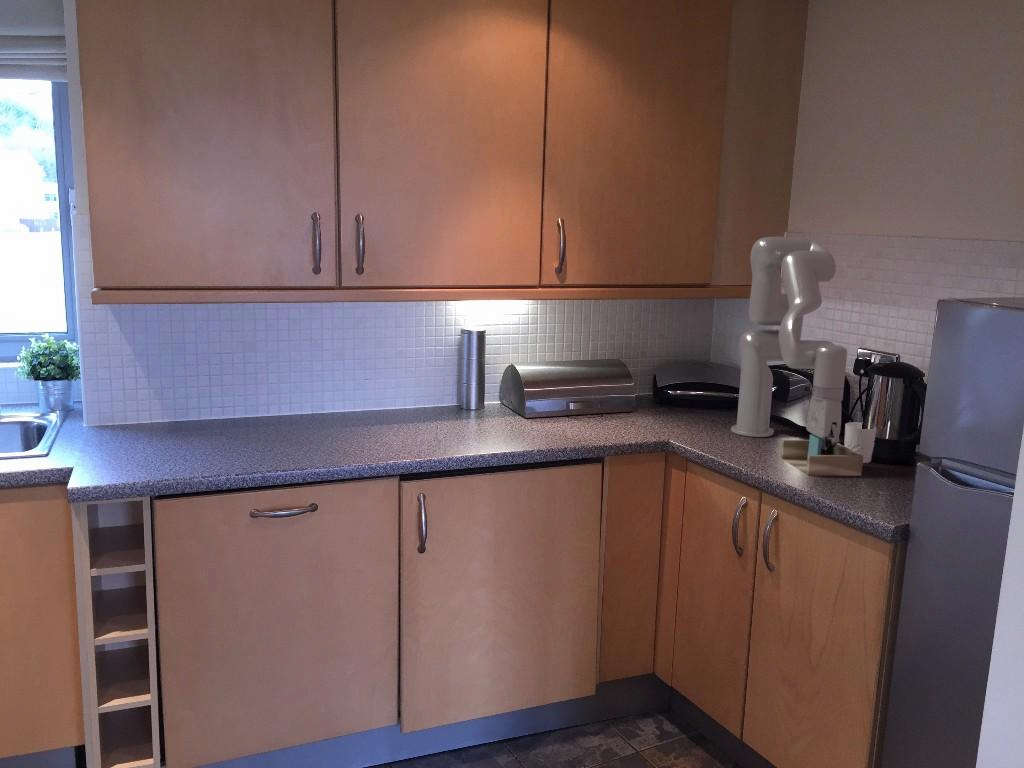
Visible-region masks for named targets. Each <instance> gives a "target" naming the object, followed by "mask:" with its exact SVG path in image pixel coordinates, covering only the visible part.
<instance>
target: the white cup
mask: <svg viewBox="0 0 1024 768" xmlns="http://www.w3.org/2000/svg"><path fill="white" fill-rule="evenodd" d="M862 423H863V422H857V421H852V422H847V423H845V424H844V425H845V427H844V439H843V440H844V442H843V443H844V445H843V446H845V447H847V448H849V449H850V450H852V451H854V452H856V453H858V454H860V455H862V456H863V464H868V463H871V461H872V458H873V457H872V456H873V455H872V454H873V451H874V447H875V442H874V441H875V440H876V435H877V429H876V428H874V429H862ZM875 434H876V435H875Z"/></svg>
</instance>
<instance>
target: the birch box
mask: <svg viewBox="0 0 1024 768" xmlns="http://www.w3.org/2000/svg"><path fill="white" fill-rule="evenodd" d="M808 449H809V439H781V449H780V459H782V460H783V461H785V462H786V463H787V464H789V465H790V466H793V467H794V468H795V469H797V470H798V471H800V472H801V473H803V474H805V475H806V476H808V477H810V476H811V477H812V476H814V477H817V476H818V477H827V476H828V477H830V476H831V477H833V476H835V477H836V476H837V477H838V476H845V477H847V476H848V477H849V476H851V477H854V476H860V477H861V476H862V473H863V465H864V463H863V456H862V455H860V454H858V453H856V452H854V451H852V450H850V449H849V448H847V447H845V446H844V445H843V444H841V443H840V442H838V443H837V444H836V454H835V455H808Z"/></svg>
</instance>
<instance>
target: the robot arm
mask: <svg viewBox="0 0 1024 768" xmlns="http://www.w3.org/2000/svg"><path fill="white" fill-rule="evenodd" d="M750 266H751V276H752V279H751V287H750V296H749V305H748V317H749V318H748V319H749V321H750V322H751V324H752V323H753V324H754V325H757V326H771V327H772V326H776V327H777V326H778V327H779V329H771V328H769V329H768V328H766V329H765V328H763V329H761V328H760V329H759V328H758V329H757V328H756V329H749V330H748V331H746V332H744V333H743V334H742V335H741V337H740V339H739V355H740V380H739V390H738V391H739V393H738V403H737V404H738V405H737V418H736V424H733V425H731V428H730V431H731V432H732V433H733V434H736V435H739V436H740V435H741V436H744V437H745V436H746V437H751V438H766V437H768V438H769V437H771V436H773V435H774V433H775V430H774V428H771V427H770V421H771V420H770V418H771V408H772V407H771V406H772V395H773V385H774V384H773V383H774V376H773V373H772V371H771V368H770V367H769V365H768V363H767V362H784V364H785V365H786V366H787V367H788V368H790V369H794V370H795V369H796V370H799V369H801V370H803V369H805V370H807V369H810V370H811V369H812V370H814V371H813V372H814V373H813V382H812V393H811V398H810V402H809V408H808V412H807V413H808V414H807V418H806V424H805V425H806V428H805V429H806V430H807V432H809V436H810V435H815V436H817V437H819V438H823V449H821V455H833V453H834V449H835V446H836V444H837V443H840V434H841V426H842V401H843V400H844V391H845V390H844V388H845V380H846V379H845V378H846V371H847V370H846V369H847V359H848V349H846V347H844V346H842V345H836V344H835V343H834V342H831V341H829V340H816V339H815V340H811V339H810V340H807V339H805V340H804V339H802V338H801V337H802V329H803V323H804V322H803V321H804V316H806V315H808V314H811V313H813V312H815V311H816V310H818V309H819V308H820V307H821V306H822V304H823V299H822V294H821V290H820V285H819V282H820V283H821V282H822V283H827V282H830V281H832V279H834V277H835V275H836V272H837V264H836V260H835V258H834V256H833V254H832V253H831V252H830V251H829V250H828V249H827V248H825V247H824V246H823V245H822V244H820V243H819V242H818V241H816V240H814V239H813V238H809V237H799V236H797V237H795V236H794V237H793V236H791V237H790V236H767V237H766V236H765V237H761V238H759V239H757V240H756V241H755V242H754V243H753V245H752V248H751V251H750ZM780 267H781V269H782V273H783V278H782V275H781V272H780V270H779V269H778V268H780ZM783 279H784V286H785V290H786V293H782V286H783ZM801 339H802V340H801ZM828 435H830V436H831V437H827V436H828ZM827 440H831V441H829V442H828V443H827Z"/></svg>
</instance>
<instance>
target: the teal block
mask: <svg viewBox="0 0 1024 768" xmlns="http://www.w3.org/2000/svg"><path fill="white" fill-rule="evenodd" d="M827 437H831V436H830V435H828V436H827ZM808 440H809V449H808V455H821V449H823V438H819V437H817V436H815V435H810V434H809V439H808ZM829 441H831V440H827V443H828V442H829ZM835 454H836V446H835V449H834V453H833V455H835Z"/></svg>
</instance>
